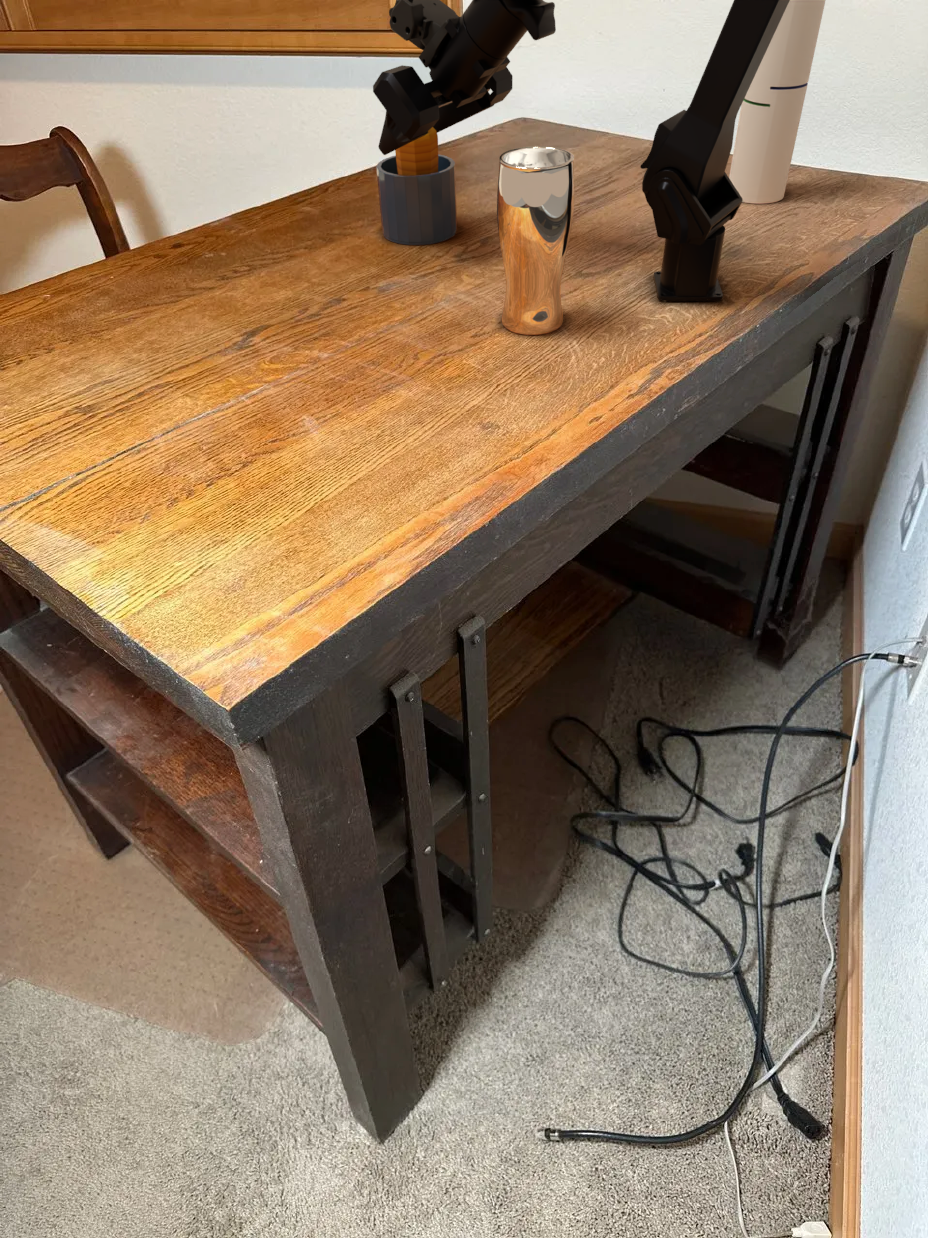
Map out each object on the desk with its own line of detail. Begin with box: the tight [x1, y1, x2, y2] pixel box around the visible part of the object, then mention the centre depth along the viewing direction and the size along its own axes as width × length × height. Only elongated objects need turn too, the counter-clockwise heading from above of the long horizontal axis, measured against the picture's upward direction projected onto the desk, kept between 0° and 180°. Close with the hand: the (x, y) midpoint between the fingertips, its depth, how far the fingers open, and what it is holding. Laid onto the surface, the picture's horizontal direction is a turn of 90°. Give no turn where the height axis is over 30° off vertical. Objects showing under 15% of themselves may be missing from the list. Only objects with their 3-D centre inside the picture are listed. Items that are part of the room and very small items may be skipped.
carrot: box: [394, 127, 439, 175], centre depth 100 cm, size 5×5×15 cm
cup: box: [376, 153, 458, 246], centre depth 103 cm, size 9×9×8 cm
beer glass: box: [496, 145, 575, 336], centre depth 81 cm, size 7×7×15 cm
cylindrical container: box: [728, 0, 826, 205], centre depth 103 cm, size 7×7×25 cm
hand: (406, 140), depth 99 cm, fingers open, 9 cm apart
